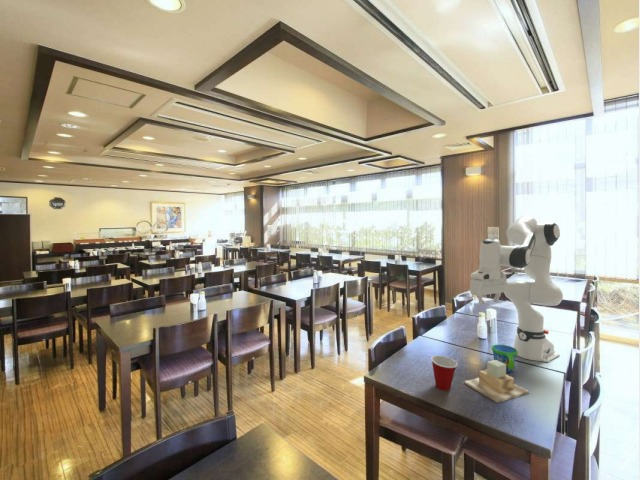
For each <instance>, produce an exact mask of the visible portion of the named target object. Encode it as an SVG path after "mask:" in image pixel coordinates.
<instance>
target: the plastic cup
mask: <svg viewBox="0 0 640 480" xmlns="http://www.w3.org/2000/svg"><path fill="white" fill-rule="evenodd" d="M430 360H431V364H432V369H433V370H432V371H433V376H434V377H433V378H434V383H435V387H436V388H437V389H438V390H440V391H444V392H446V391H450V390H451V388H452V382H453V379H454V375H455V371H456V368H457V367H458V366H459V363H458V362H457V361H456V359H455V360H454V359H453V358H451V357H449V356H444V355H432V356H431V358H430Z"/></svg>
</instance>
